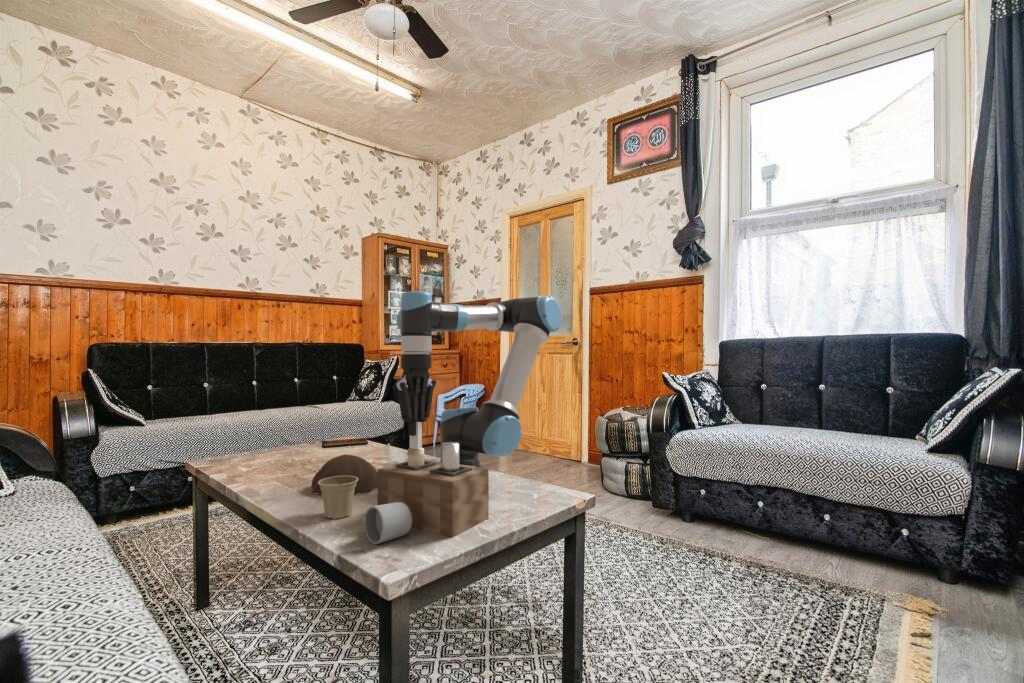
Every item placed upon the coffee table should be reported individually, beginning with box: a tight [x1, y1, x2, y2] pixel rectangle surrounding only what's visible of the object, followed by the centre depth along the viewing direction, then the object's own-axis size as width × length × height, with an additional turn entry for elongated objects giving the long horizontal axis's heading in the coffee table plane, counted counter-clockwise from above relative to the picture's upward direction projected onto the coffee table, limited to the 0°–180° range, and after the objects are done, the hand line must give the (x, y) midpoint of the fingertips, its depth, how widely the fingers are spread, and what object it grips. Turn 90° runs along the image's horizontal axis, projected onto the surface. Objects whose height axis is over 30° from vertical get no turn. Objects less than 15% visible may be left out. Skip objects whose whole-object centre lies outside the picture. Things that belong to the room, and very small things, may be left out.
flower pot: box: [318, 476, 358, 520], centre depth 119 cm, size 9×9×9 cm
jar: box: [459, 455, 475, 467], centre depth 129 cm, size 9×8×12 cm
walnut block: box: [376, 458, 490, 538], centre depth 117 cm, size 14×23×13 cm, turn 59°
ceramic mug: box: [364, 502, 413, 545], centre depth 105 cm, size 11×8×8 cm
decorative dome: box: [311, 454, 378, 495], centre depth 144 cm, size 19×20×10 cm
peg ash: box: [407, 447, 425, 467], centre depth 120 cm, size 4×4×11 cm
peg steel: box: [442, 442, 459, 473], centre depth 114 cm, size 4×4×11 cm
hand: (415, 448), depth 120 cm, fingers closed
